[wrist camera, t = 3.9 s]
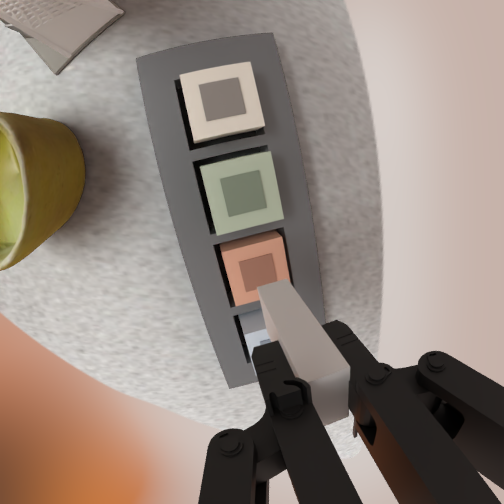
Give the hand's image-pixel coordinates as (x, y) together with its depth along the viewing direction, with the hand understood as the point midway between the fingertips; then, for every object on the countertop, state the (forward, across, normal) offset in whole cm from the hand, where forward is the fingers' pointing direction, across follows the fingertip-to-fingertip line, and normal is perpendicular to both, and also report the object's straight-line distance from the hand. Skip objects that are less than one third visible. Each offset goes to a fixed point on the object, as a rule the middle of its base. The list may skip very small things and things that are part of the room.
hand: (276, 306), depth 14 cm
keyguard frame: (+9, 0, +2) cm, 9 cm away
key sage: (+7, 0, +5) cm, 9 cm away
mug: (+9, -16, +10) cm, 21 cm away
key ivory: (+7, 0, +10) cm, 13 cm away
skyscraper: (+9, -9, +22) cm, 26 cm away
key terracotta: (+8, 0, 0) cm, 8 cm away
